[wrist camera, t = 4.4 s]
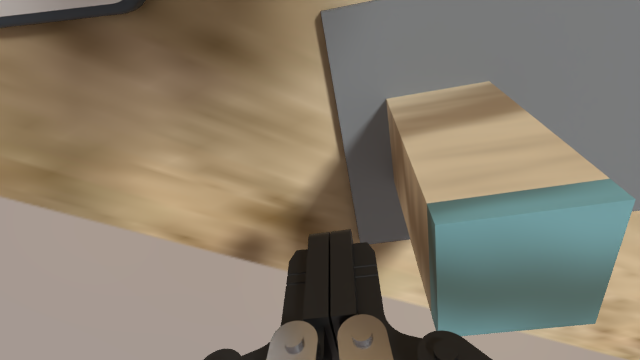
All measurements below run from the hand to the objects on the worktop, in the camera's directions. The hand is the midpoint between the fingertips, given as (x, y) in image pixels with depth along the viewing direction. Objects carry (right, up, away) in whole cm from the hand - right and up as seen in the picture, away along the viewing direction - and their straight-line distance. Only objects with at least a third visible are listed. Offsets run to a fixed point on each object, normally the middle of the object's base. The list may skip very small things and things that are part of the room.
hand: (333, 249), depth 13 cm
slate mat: (+11, +6, +6) cm, 14 cm away
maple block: (+6, +5, +6) cm, 10 cm away
